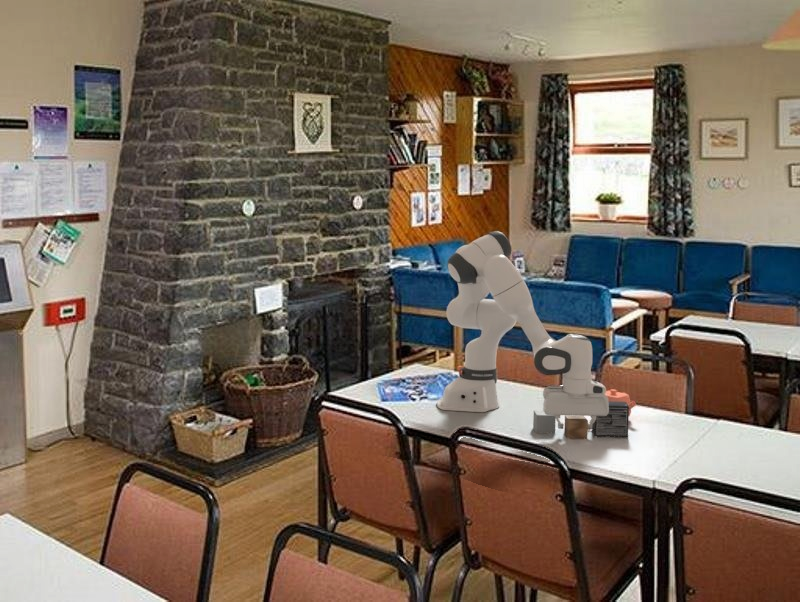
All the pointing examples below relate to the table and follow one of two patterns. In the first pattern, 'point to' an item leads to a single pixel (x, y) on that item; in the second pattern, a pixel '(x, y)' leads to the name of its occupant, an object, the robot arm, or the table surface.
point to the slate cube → (543, 422)
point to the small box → (613, 421)
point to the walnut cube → (576, 427)
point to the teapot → (620, 398)
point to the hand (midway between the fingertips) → (574, 428)
